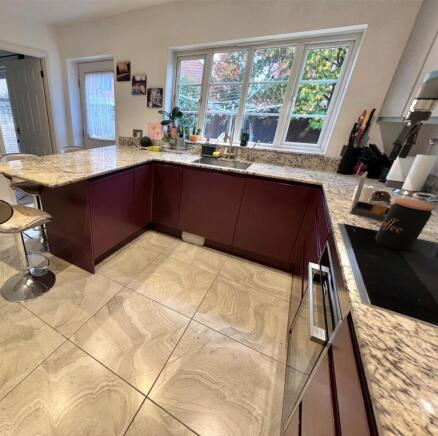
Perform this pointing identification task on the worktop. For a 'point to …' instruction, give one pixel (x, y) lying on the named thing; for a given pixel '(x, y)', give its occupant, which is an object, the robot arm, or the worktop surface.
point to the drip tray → (367, 211)
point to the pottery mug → (381, 196)
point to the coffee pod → (378, 209)
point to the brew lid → (359, 189)
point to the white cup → (363, 193)
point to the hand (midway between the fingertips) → (396, 158)
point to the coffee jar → (403, 223)
